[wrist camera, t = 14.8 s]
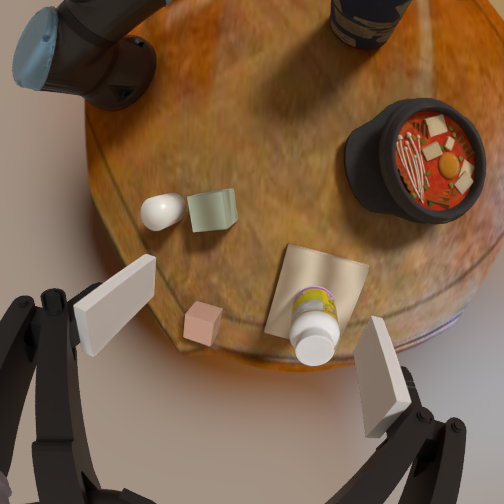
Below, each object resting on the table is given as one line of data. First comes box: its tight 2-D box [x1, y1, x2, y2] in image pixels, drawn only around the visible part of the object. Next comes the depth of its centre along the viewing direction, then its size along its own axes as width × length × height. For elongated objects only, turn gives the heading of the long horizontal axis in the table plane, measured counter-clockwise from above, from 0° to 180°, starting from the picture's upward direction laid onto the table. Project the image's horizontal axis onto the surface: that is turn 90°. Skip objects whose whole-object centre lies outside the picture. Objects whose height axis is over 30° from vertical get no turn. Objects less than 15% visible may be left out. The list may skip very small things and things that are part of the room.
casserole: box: [344, 98, 486, 224], centre depth 30 cm, size 25×19×8 cm
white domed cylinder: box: [141, 193, 187, 231], centre depth 41 cm, size 5×5×6 cm
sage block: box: [187, 188, 238, 232], centre depth 40 cm, size 5×5×6 cm
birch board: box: [264, 244, 370, 350], centre depth 43 cm, size 13×16×1 cm
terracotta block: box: [183, 301, 223, 346], centre depth 47 cm, size 5×5×5 cm
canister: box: [330, 0, 412, 49], centre depth 21 cm, size 10×10×18 cm
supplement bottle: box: [289, 286, 340, 366], centre depth 37 cm, size 7×7×13 cm
